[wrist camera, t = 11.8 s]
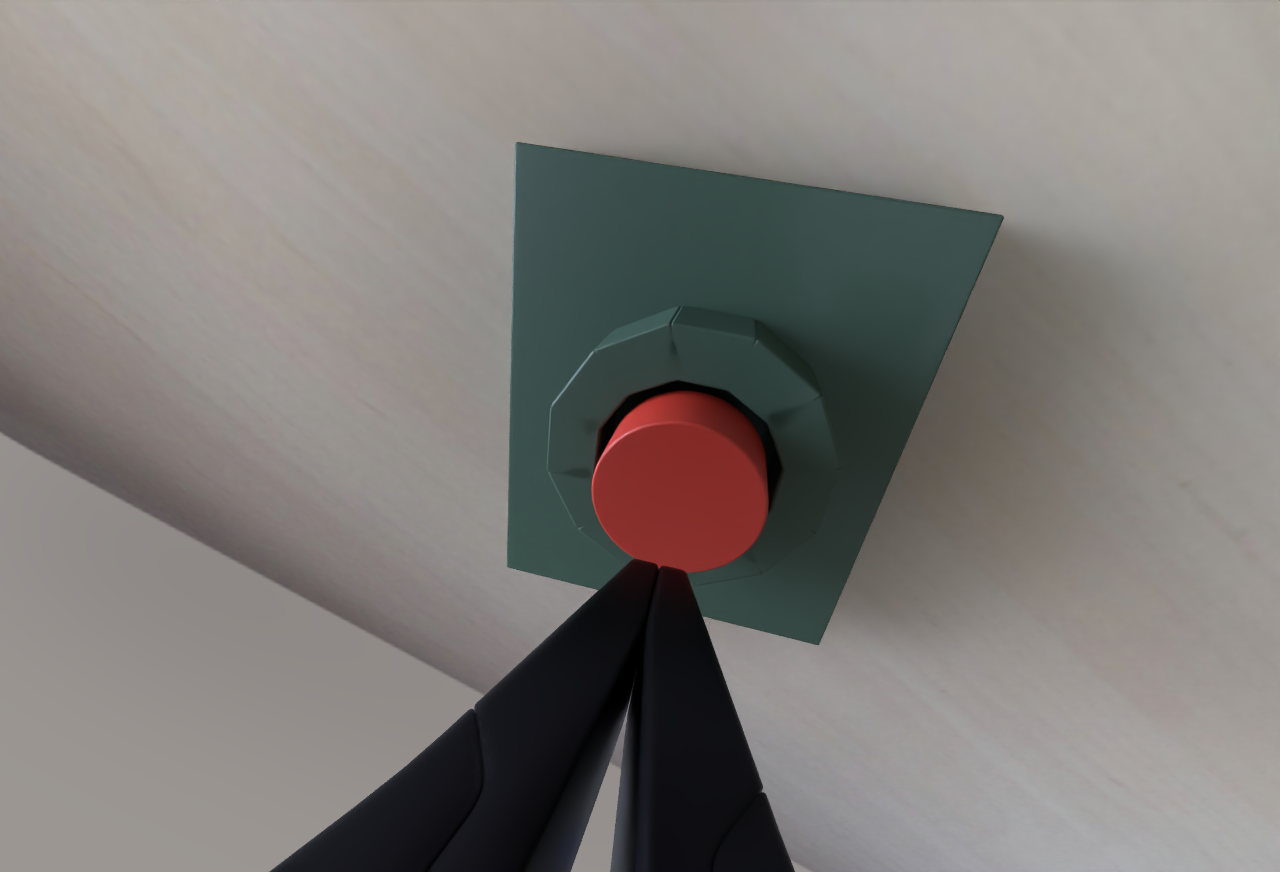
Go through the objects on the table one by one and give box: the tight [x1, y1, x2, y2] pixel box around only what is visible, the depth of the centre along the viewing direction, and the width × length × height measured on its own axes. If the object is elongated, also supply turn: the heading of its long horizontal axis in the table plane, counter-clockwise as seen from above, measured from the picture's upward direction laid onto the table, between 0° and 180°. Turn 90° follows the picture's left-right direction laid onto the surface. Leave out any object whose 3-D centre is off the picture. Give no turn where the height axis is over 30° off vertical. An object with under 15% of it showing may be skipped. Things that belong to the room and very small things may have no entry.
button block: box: [507, 142, 1004, 645], centre depth 13 cm, size 12×10×4 cm
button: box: [592, 391, 769, 573], centre depth 11 cm, size 4×4×2 cm
